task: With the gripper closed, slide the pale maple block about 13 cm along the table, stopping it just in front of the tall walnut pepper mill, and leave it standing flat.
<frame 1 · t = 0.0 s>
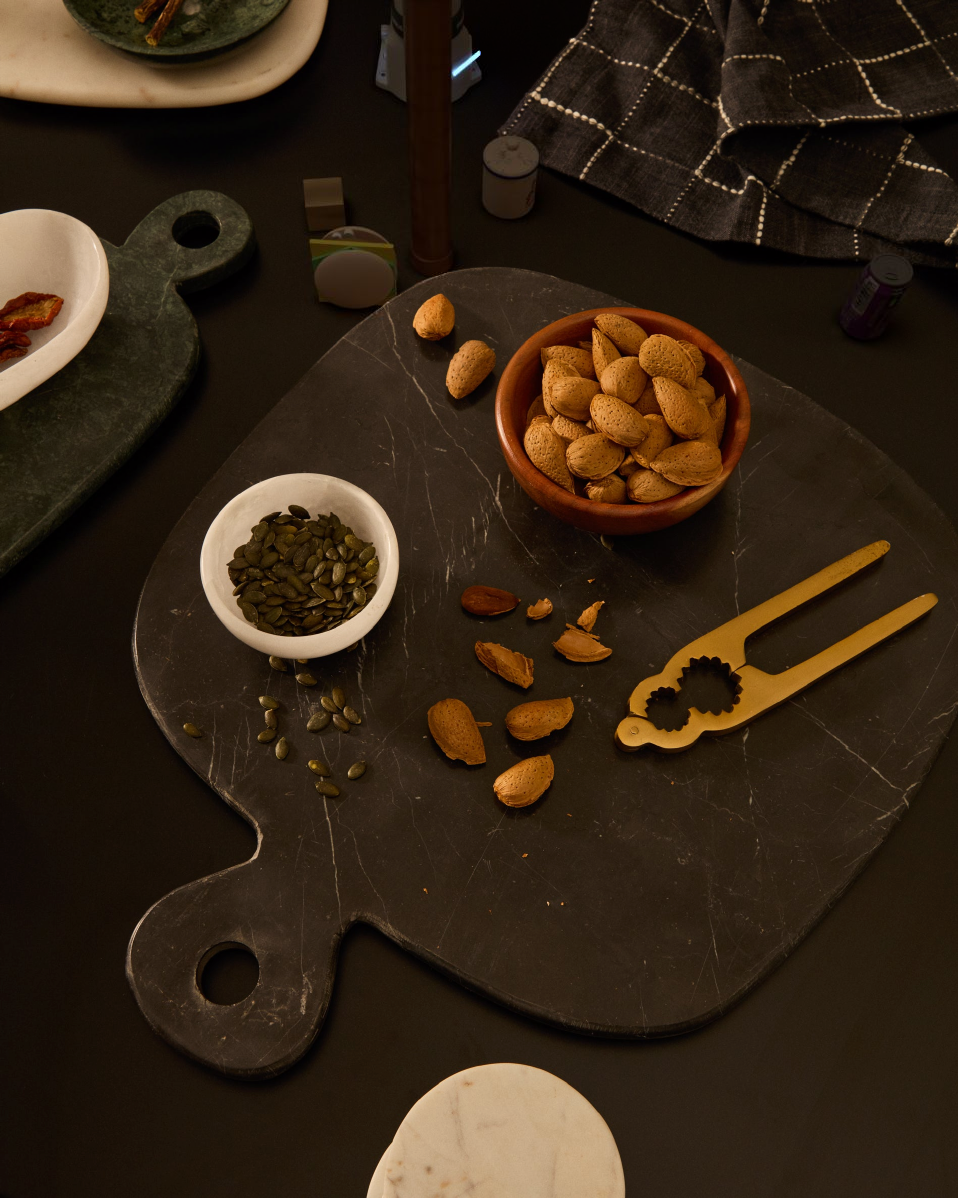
maple block: (326, 216, 158), on the table
hamburger: (359, 295, 152), on the table
beverage can: (859, 325, 152), on the table
teacup with lid: (507, 195, 162), on the table
pepper mill: (431, 259, 155), on the table
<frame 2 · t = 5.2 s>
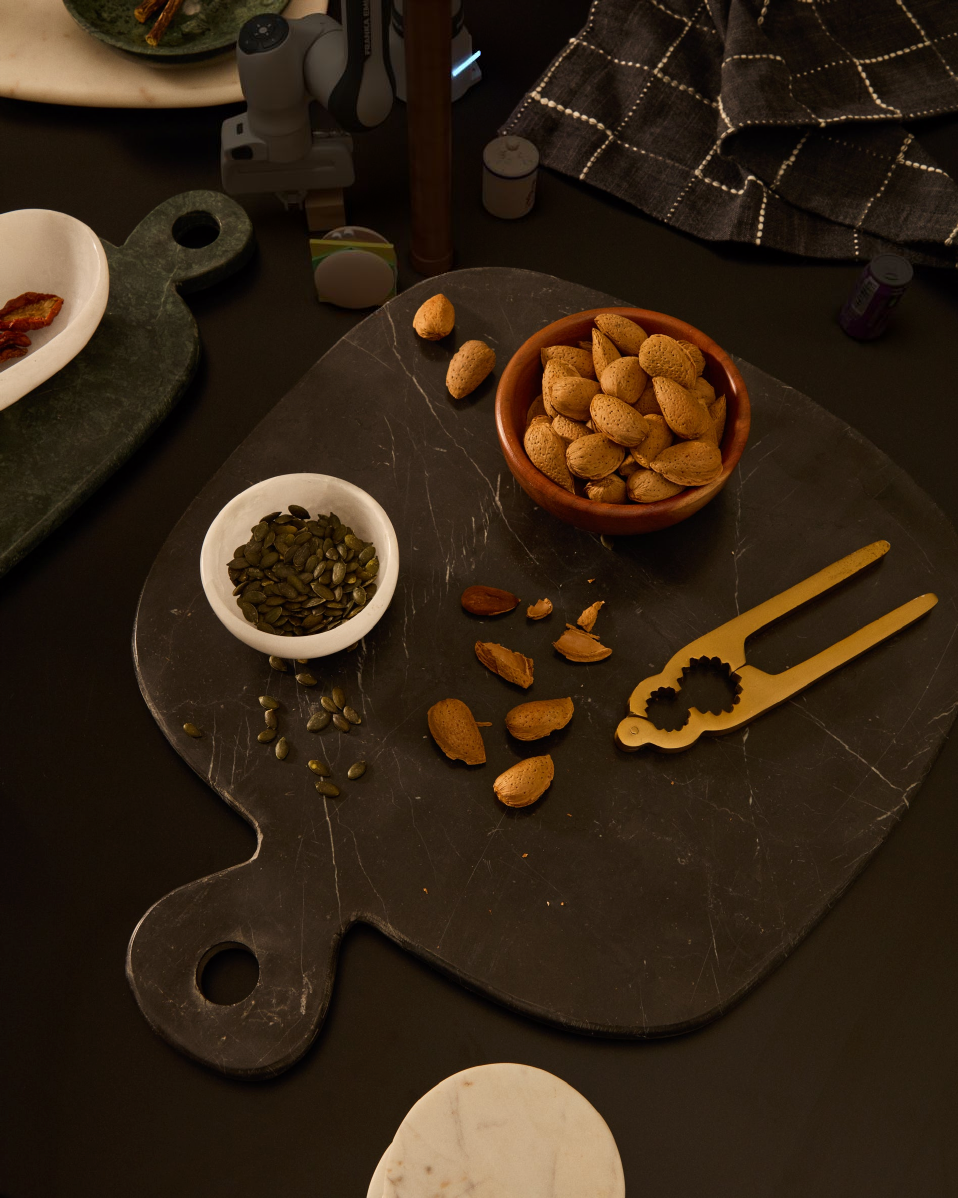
hand: (294, 207, 156), 2 cm above the table, tool pointing down, fingers closed
maple block: (326, 216, 158), on the table, touching gripper
everything else where it was.
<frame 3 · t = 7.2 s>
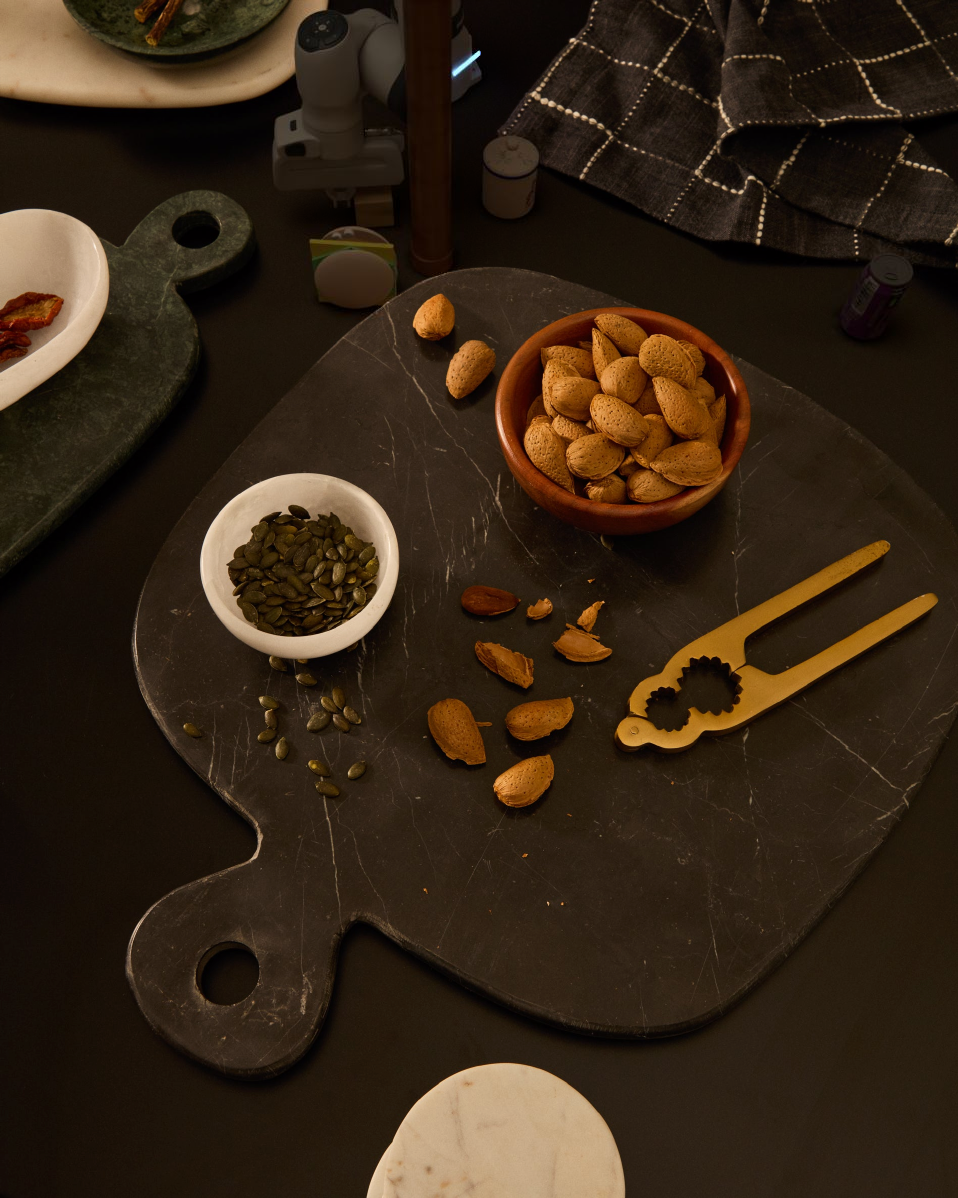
hand: (342, 204, 157), 2 cm above the table, tool pointing down, fingers closed
maple block: (374, 213, 159), on the table, touching gripper
everything else where it was.
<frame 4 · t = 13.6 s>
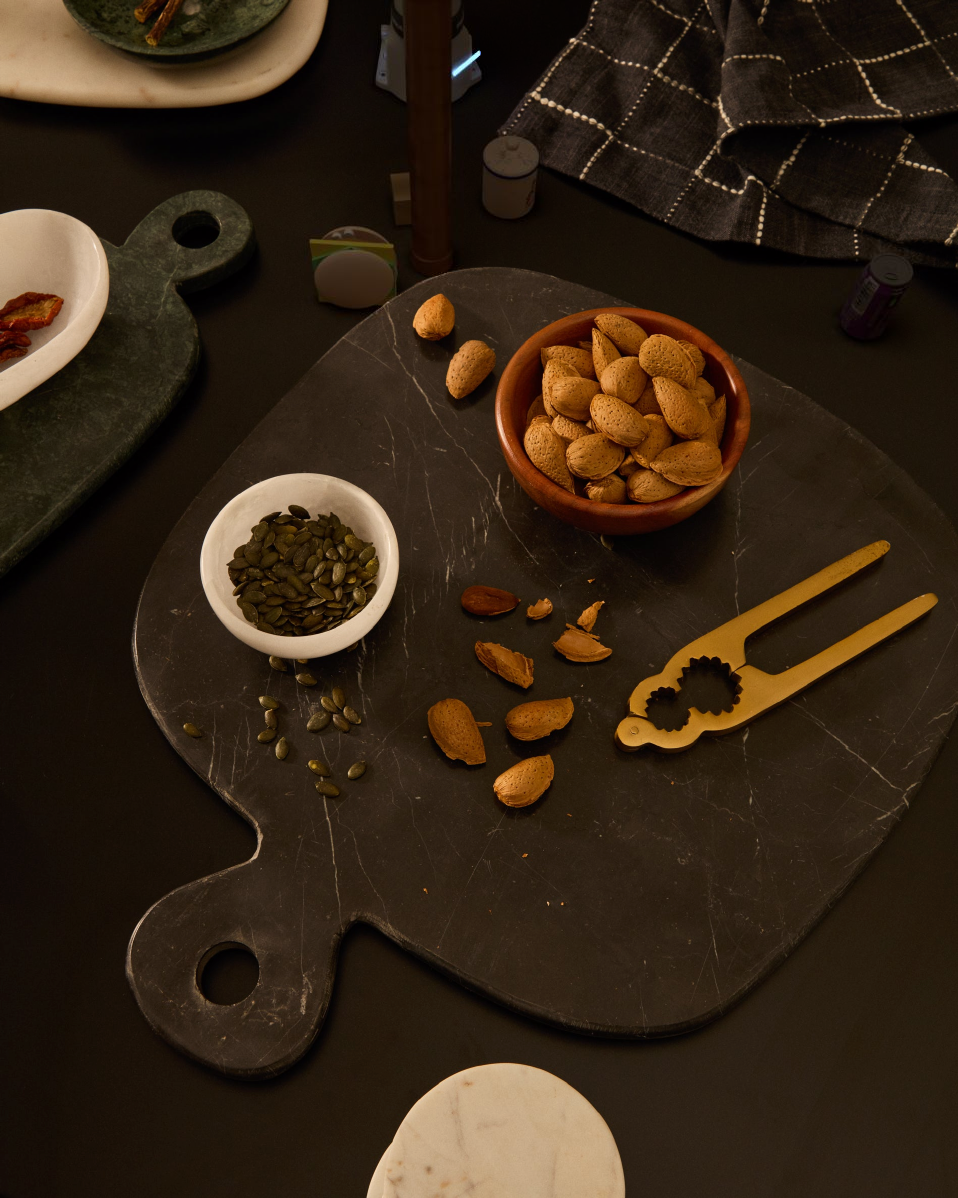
maple block: (412, 210, 160), on the table
everything else where it was.
at the end: maple block inside the target area on the table beside the pepper mill (2.9 cm from its centre), on the table; maple block tilted 0°; maple block moved 13.9 cm from its start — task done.
